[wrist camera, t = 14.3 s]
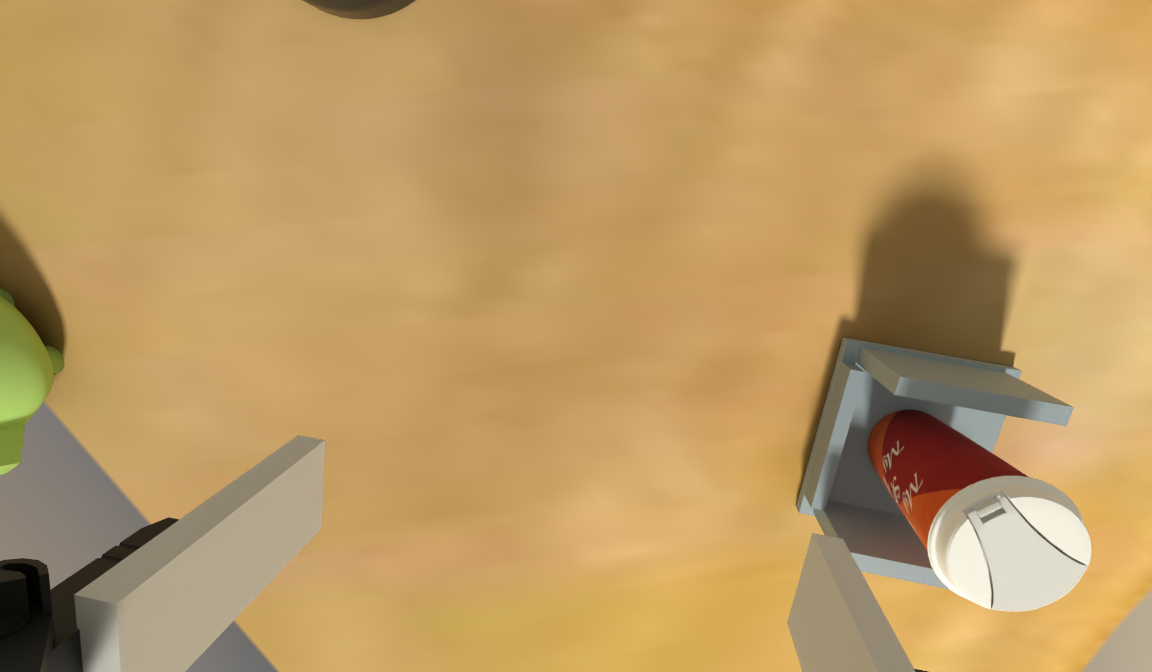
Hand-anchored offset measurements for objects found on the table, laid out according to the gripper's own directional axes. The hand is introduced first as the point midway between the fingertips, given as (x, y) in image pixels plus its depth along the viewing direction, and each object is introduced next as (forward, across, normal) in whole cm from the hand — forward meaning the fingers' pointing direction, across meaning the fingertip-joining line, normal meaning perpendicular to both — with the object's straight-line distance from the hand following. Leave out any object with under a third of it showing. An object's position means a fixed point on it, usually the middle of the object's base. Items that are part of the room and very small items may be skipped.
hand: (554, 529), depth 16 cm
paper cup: (+30, +23, -6) cm, 38 cm away
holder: (+30, +23, -7) cm, 39 cm away
